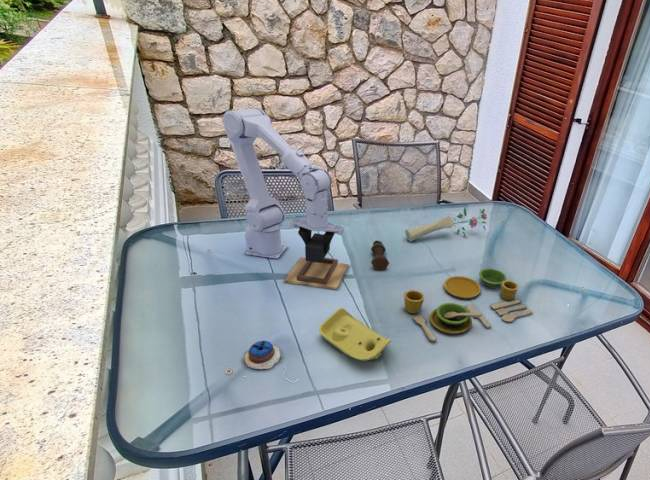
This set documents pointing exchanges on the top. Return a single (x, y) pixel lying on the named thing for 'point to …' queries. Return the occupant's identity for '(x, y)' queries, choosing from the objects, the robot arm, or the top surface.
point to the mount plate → (317, 273)
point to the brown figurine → (379, 256)
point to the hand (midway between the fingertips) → (318, 250)
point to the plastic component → (352, 336)
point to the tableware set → (456, 315)
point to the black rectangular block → (315, 249)
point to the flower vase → (441, 226)
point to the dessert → (262, 355)
